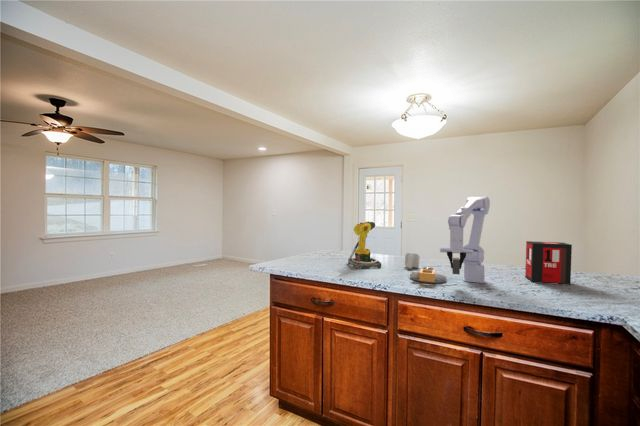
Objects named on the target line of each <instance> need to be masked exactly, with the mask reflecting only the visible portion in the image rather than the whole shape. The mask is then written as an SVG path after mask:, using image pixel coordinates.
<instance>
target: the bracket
mask: <svg viewBox="0 0 640 426" xmlns="http://www.w3.org/2000/svg"><path fill="white" fill-rule="evenodd" d="M411 274H412V277H418V278H419V281H428V282H434V281H435V274H436V270H435V269H433V270H426V269H423V268H420V270H419V271H416V270H415V271H414V270H412V271H411Z"/></svg>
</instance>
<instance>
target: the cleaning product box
mask: <svg viewBox="0 0 640 426" xmlns="http://www.w3.org/2000/svg"><path fill="white" fill-rule="evenodd" d="M525 242H526V244H525V245H526V247H525V275H524V277H525V279H526V278H527V279H528V281H529V280H530V281H531V282H530V281H529V282H530V283H534V282H542V283H541V284H548V283H558V284H557V285H562V284H569V285H568V286H571V280H572V279H571V278H572V277H571V275H572V251H573V248H572V247H573V245H572V244H570V243H567V242H558V241H557V242H556V241H554V242H553V241H531V240H529V241H528V240H527V241H525ZM527 279H526V280H527Z"/></svg>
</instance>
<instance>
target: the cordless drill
mask: <svg viewBox="0 0 640 426" xmlns="http://www.w3.org/2000/svg"><path fill="white" fill-rule="evenodd" d="M375 227H376V223H375V222H373V221H364V222H361V223H358V224H356V225H355V226H354V227H353V232H354V233H355V234H356V236H359V237H358V242H356V245H354V248H353V250H352V252H351V254H350V256H349V257H348V260H347V261H348V262H347V263H348V265H352V266H353V268H355V269H359V268H361V269H362V270H363V269H365V270H366V269H367V270H368V269H370V268H378V269H381V268H382V263H381V261H380V260H377V259H375V258H373V257H371V249H368V248H366V239H367V238H368V234H369V232H370V231H372V230H373V229H374V228H375ZM353 256H354V257H353ZM352 257H353V258H352Z"/></svg>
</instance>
